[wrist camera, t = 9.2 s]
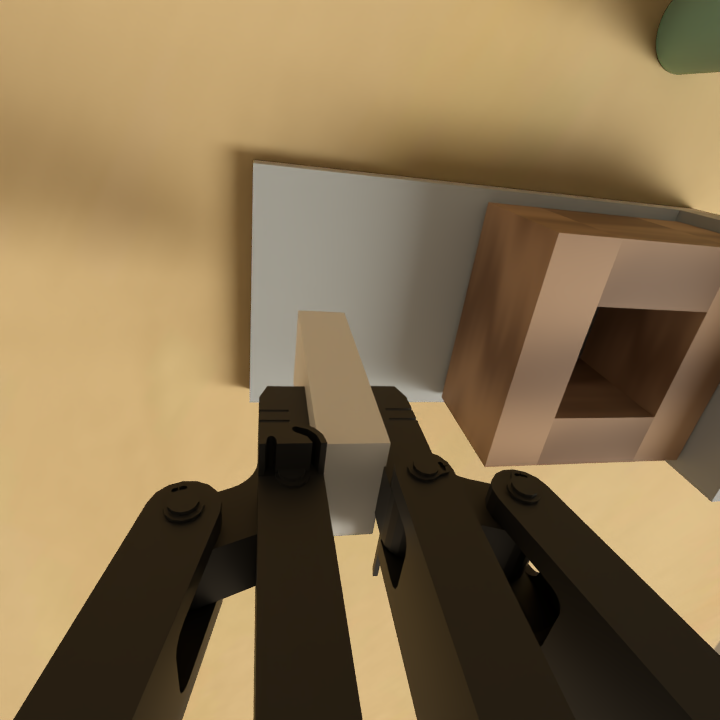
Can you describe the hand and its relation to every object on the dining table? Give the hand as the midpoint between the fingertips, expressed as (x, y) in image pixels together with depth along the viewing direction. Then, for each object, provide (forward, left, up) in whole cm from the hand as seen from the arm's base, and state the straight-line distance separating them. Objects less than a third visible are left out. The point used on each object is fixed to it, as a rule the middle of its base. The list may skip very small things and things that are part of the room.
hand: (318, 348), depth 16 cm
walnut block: (+1, +13, -6) cm, 14 cm away
